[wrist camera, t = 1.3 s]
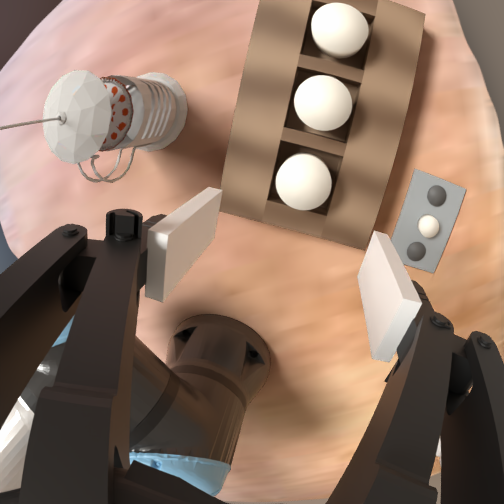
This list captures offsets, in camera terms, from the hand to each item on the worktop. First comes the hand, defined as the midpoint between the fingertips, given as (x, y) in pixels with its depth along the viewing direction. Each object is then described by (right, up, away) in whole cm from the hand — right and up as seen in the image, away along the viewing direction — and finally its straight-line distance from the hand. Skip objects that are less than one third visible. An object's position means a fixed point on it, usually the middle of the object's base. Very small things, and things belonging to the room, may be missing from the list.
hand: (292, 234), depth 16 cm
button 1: (+3, +6, +15) cm, 16 cm away
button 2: (+5, +13, +12) cm, 18 cm away
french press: (-14, +15, +18) cm, 27 cm away
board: (+5, +14, +14) cm, 21 cm away
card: (+18, +2, +17) cm, 24 cm away
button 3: (+6, +20, +8) cm, 22 cm away
